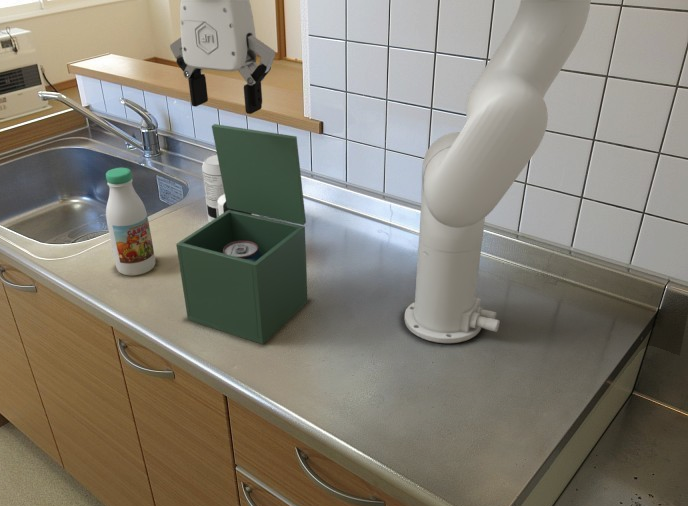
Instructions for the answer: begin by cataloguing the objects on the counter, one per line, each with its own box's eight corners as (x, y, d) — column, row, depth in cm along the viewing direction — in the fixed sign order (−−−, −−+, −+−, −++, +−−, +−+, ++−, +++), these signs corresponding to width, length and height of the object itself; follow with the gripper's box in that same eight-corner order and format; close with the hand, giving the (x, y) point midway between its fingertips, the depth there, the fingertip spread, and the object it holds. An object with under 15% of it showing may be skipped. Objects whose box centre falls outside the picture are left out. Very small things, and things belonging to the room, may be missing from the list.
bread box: (262, 344, 109) (256, 264, 101) (187, 320, 116) (175, 243, 108) (307, 301, 119) (305, 226, 111) (236, 281, 126) (228, 209, 118)
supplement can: (205, 219, 150) (197, 155, 142) (241, 213, 152) (235, 149, 144) (213, 234, 143) (205, 168, 135) (250, 228, 145) (244, 162, 137)
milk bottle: (109, 273, 131) (88, 177, 120) (129, 255, 137) (110, 162, 127) (144, 278, 129) (125, 181, 118) (162, 259, 135) (147, 165, 124)
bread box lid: (294, 138, 101) (296, 136, 102) (211, 125, 108) (214, 123, 109) (303, 225, 111) (306, 222, 111) (227, 208, 118) (229, 206, 118)
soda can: (265, 320, 113) (260, 257, 107) (224, 321, 113) (217, 259, 107) (267, 298, 119) (262, 238, 113) (228, 299, 119) (221, 239, 113)
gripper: (145, -19, 90) (164, 108, 99) (251, -17, 82) (261, 122, 91) (180, -27, 95) (195, 95, 104) (284, -25, 87) (290, 107, 96)
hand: (226, 107), depth 98 cm, fingers open, 9 cm apart
